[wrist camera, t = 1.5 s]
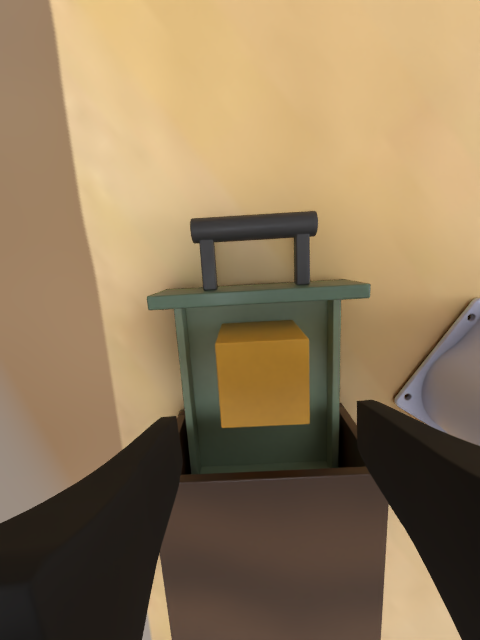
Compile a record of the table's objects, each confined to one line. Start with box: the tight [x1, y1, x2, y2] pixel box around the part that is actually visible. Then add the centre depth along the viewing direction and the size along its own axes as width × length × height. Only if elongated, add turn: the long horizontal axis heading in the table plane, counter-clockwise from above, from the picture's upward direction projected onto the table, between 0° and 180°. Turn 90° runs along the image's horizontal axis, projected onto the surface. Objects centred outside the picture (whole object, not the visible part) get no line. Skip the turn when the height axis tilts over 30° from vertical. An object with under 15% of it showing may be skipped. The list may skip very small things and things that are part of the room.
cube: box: [215, 320, 310, 428], centre depth 17 cm, size 5×5×5 cm
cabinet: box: [160, 403, 388, 640], centre depth 20 cm, size 14×12×7 cm
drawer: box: [147, 211, 370, 474], centre depth 19 cm, size 18×12×4 cm
